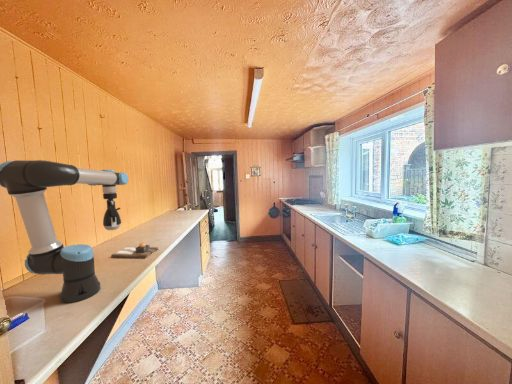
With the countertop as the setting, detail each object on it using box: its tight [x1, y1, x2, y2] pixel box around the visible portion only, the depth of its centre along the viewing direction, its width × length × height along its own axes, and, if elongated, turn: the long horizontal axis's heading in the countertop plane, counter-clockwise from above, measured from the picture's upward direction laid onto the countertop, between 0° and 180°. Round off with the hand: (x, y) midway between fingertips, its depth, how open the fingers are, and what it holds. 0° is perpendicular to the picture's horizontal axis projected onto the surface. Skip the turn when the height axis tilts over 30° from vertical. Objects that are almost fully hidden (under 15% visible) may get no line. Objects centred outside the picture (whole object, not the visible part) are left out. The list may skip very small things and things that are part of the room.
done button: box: [138, 242, 147, 248], centre depth 150 cm, size 4×4×3 cm
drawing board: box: [110, 244, 159, 259], centre depth 151 cm, size 16×25×6 cm, turn 85°
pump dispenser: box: [102, 207, 122, 231], centre depth 141 cm, size 10×10×15 cm
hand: (112, 225), depth 141 cm, fingers closed on pump dispenser, 10 cm apart
